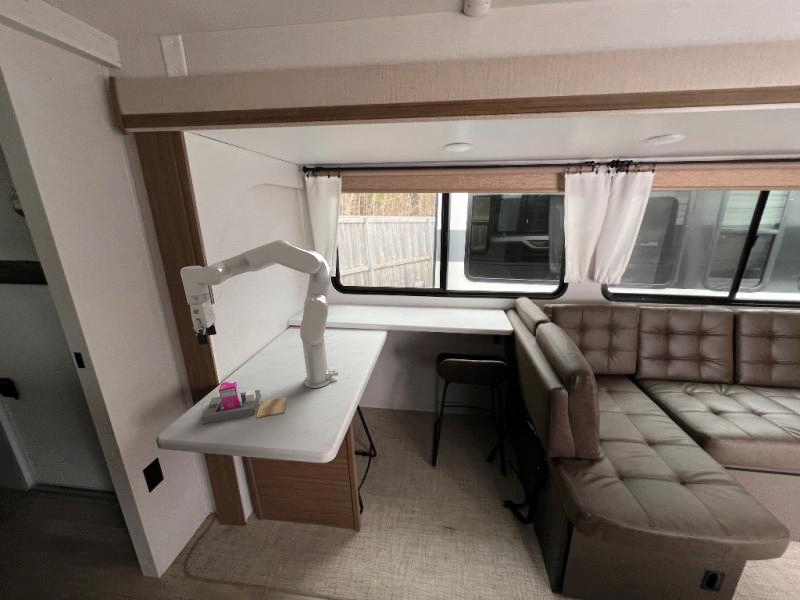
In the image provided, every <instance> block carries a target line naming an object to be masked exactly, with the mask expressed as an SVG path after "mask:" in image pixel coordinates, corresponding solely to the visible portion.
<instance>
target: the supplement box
mask: <svg viewBox="0 0 800 600" xmlns="http://www.w3.org/2000/svg"><path fill="white" fill-rule="evenodd" d="M218 393H219V396H220V397H221V401H222V405H223V407H222V409H223V411H225V410H231V409H237V408H242V407H243V405H244V404H243V401H242V399H241V394H240V393H241V390H240V387H239V382H238V379H237V378H236V379H232V380H227V381H222V382H221V383H220V385H219V389H218Z"/></svg>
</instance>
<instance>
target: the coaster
mask: <svg viewBox="0 0 800 600" xmlns="http://www.w3.org/2000/svg"><path fill="white" fill-rule="evenodd" d="M286 404H287V397H280V398H274V399H268V400H263V401H260V404H259V407H258V410H257V412H256V418H257V419H258V418H264V417H269V416H274V415H275V416H276V415H281V414H285V412H286V406H287V405H286Z"/></svg>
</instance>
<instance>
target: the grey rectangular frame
mask: <svg viewBox="0 0 800 600" xmlns="http://www.w3.org/2000/svg"><path fill="white" fill-rule="evenodd" d="M240 394H241V399H242V402H244V404H243V405H242V408H237V409H231V410H225V411H224V410H223V405H222V401H221V397H220V395H219V396H214V397H213V396H212V398H211V400H210V401H209V403H208V405H207V407H206V408H205V410H204V411H203V413H202V415H201V416H200V417H201V423H202V425H206V424H211V423H215V422H217V423H218V422H221V421H227V420H231V419H233V420H234V419H238V418H243V417H249V416H254V415H256V414H257V411H258V410H257V409H258V408H259V407H258V406H259V405H260V404H259V402H260V400H261V398H262V396H261V390H260V389H256V390H255V389H253V390H247V391H245V392H244V391H243V392H240Z"/></svg>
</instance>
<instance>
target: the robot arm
mask: <svg viewBox="0 0 800 600" xmlns="http://www.w3.org/2000/svg"><path fill="white" fill-rule="evenodd" d="M277 264H279V265H281V266H284V267H286V268H289V269H291V270H294V271H297V272H300V273H303V274H307V275H309V279H308V285H307V292H306V296H305V297H306V298H305V301H304V306H303V314H302V320H301V321H300V325H299V336H300V339H301V343H302V349H303V356H304V365H305V373H306V377H305V378H304V380H303V383H304V386H305V387H306V388H309V389H317V388H322V387H323V388H324V387H325V386H328V385H329V384H330V383H331V382H332V381H333V377H337V376H339V371H336V369H332V370H330V369H329V367H328V360H327V352H326V351H327V350H326V341H325V332H326V326H327V321H328V316H329V305H328V303H329V302H328V296H329V288H330V282H331V272H330V267H329V265H328V263H327V260H325V258H324V257H323V256H322V255H321V254H319V253H318V252H317V251H316V250H315V251H314V250H313V249H312V250H311V249H307V250H305V249H302V248H300V247H296V246H294V245H292V244H291V243H290V242H289V241H288V240H286V239H277V240H273V241H271V242H269V243H266V244H262V245H260V246H257V247H255V248H252V249H249V250H246V251H244V252H242V253H240V254H236V255H235V256H232V257H229V258H225V259H223V260H220V261H217V262H215V263H212V264H211V265H208V266H201V265H189V266H184V267H182V268H181V269H180V277H181V281H182V285H183V289H184V293H185V297H186V301H187V305H189V308H190V315H191V320H192V325H193V330H194V333H195V336H196V340H197V343H198V345H199V346H200V345H208V344H209V339H208V336H215V335H217V330H216V325H215V322H216V320H217V319H216V314H215V311H214V306H213V304H212V300H211V295H210V290H209V286H218V285H221V284H222V283H224V282H225V281H226V280H228V279H232V278H234V277H236V276H239V275H242V274H245V273H249V272H254V273H255V272H259V271H261V270H264V269H266V268H269V267H272V266H274V265H277Z"/></svg>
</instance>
